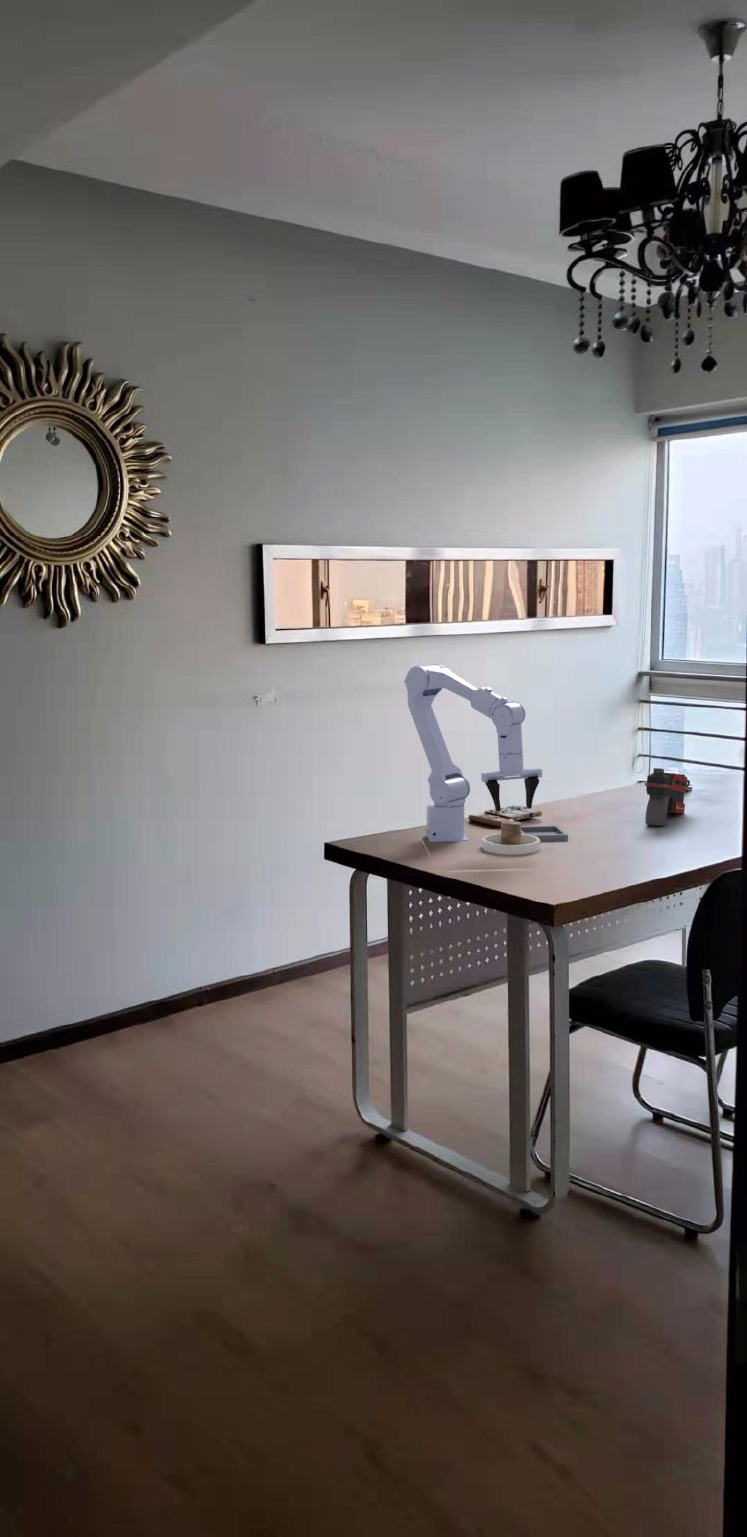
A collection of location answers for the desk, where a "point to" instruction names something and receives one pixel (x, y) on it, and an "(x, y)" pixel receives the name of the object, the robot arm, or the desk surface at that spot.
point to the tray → (545, 832)
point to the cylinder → (511, 833)
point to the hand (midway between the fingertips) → (513, 809)
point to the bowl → (527, 845)
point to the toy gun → (664, 796)
